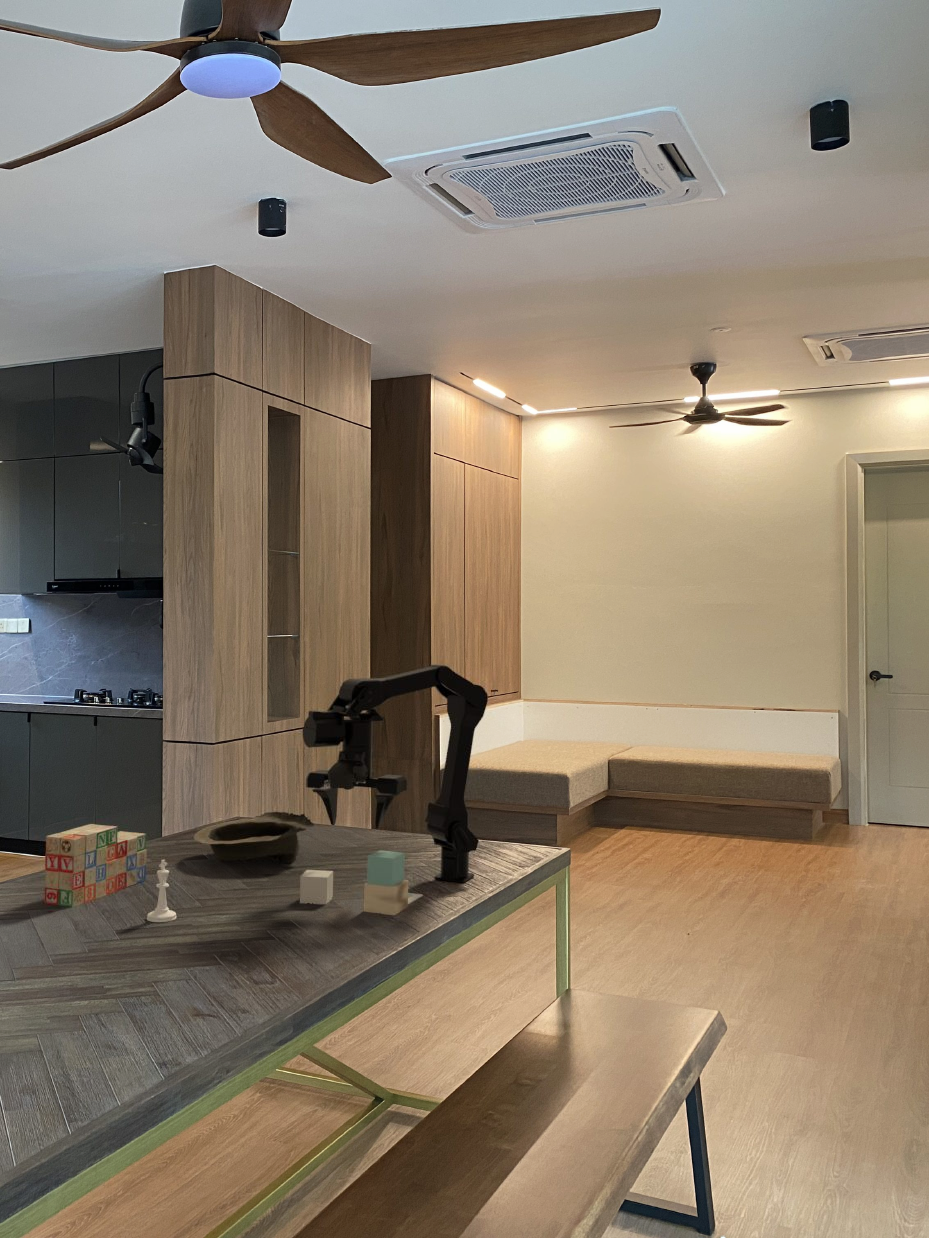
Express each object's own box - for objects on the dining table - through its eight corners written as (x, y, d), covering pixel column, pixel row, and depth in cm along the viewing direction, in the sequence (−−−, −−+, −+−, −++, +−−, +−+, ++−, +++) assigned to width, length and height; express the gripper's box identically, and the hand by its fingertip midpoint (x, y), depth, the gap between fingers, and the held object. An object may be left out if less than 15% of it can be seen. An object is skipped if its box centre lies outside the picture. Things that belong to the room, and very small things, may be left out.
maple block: (377, 903, 196) (378, 876, 196) (407, 907, 194) (408, 880, 194) (363, 911, 190) (364, 883, 190) (394, 915, 188) (395, 887, 188)
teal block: (379, 877, 195) (380, 850, 195) (404, 880, 193) (404, 853, 193) (366, 883, 190) (367, 855, 190) (392, 886, 189) (392, 858, 189)
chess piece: (182, 916, 184) (183, 858, 184) (165, 923, 179) (167, 864, 179) (158, 913, 186) (159, 855, 186) (140, 920, 181) (142, 861, 181)
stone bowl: (334, 856, 233) (333, 814, 232) (254, 887, 212) (253, 841, 211) (251, 839, 246) (250, 800, 245) (168, 867, 225) (167, 824, 224)
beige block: (306, 896, 199) (307, 869, 199) (332, 897, 199) (333, 871, 199) (299, 903, 195) (300, 876, 195) (326, 904, 194) (327, 877, 194)
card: (389, 891, 204) (389, 889, 204) (422, 895, 202) (422, 893, 202) (373, 900, 198) (373, 897, 198) (408, 904, 195) (408, 902, 195)
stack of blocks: (119, 877, 210) (121, 815, 210) (146, 881, 208) (148, 818, 208) (43, 904, 190) (45, 834, 190) (72, 907, 188) (74, 838, 188)
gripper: (293, 746, 199) (291, 830, 199) (386, 752, 193) (384, 839, 193) (319, 740, 209) (317, 820, 209) (408, 746, 203) (406, 828, 203)
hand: (355, 826), depth 203 cm, fingers open, 9 cm apart
